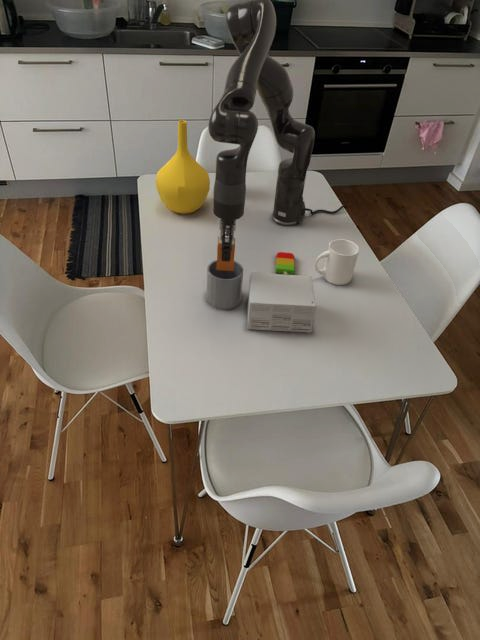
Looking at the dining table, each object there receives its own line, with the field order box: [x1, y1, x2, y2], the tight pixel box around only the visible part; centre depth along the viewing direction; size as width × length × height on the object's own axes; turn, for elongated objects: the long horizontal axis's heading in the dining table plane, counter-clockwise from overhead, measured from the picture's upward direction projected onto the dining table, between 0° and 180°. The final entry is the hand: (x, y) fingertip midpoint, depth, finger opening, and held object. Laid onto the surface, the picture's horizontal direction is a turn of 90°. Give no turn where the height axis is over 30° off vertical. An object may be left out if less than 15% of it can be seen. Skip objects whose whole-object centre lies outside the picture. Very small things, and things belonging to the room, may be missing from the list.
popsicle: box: [275, 251, 296, 275], centre depth 152 cm, size 6×15×2 cm, turn 176°
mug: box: [314, 238, 360, 286], centre depth 148 cm, size 9×12×11 cm
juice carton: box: [216, 236, 236, 271], centre depth 131 cm, size 4×3×8 cm
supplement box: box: [246, 272, 317, 334], centre depth 133 cm, size 17×13×9 cm
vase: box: [155, 119, 211, 215], centre depth 168 cm, size 18×18×30 cm
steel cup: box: [206, 259, 244, 310], centre depth 137 cm, size 10×10×10 cm
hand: (226, 255), depth 131 cm, fingers closed on juice carton, 3 cm apart
